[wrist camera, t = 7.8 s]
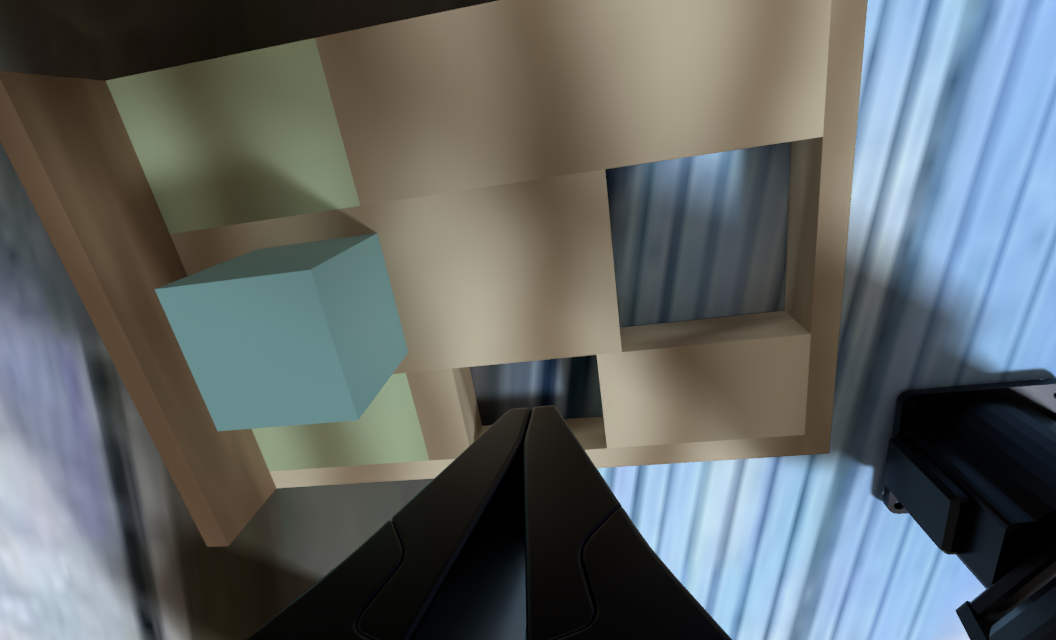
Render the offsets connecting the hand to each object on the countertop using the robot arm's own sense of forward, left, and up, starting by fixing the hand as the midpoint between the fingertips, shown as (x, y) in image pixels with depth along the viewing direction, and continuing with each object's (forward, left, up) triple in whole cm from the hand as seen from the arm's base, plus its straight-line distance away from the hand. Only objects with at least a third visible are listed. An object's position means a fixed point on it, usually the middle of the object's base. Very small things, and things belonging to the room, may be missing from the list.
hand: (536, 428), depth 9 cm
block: (+9, 0, -10) cm, 14 cm away
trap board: (+3, 0, -13) cm, 13 cm away
